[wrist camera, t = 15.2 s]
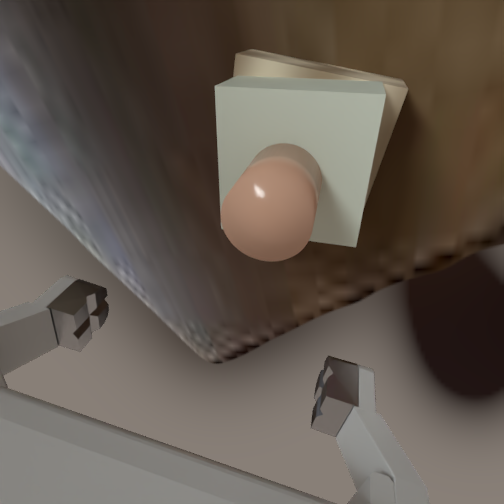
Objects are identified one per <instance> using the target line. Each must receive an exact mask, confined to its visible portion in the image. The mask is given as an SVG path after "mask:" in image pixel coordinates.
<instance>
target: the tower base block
mask: <svg viewBox="0 0 504 504" xmlns="http://www.w3.org/2000/svg"><path fill="white" fill-rule="evenodd" d="M236 76H262V77H285V78H309V79H332V80H356V81H379V82H382V83H383V86H384V89H385V93H386V98H385V103H384V108H383V113H382V118H381V123H380V128H379V133H378V138H377V143H376V148H375V154H374V159H373V164H372V169H371V174H370V179H369V184H368V189H367V194H366V199H365V204H366V201H367V199H368V196H369V193H370V191H371V188H372V185H373V183H374V180H375V177H376V175H377V172H378V169H379V167H380V164H381V161H382V159H383V156H384V153H385V150H386V148H387V145H388V142H389V140H390V137H391V134H392V132H393V129H394V126H395V124H396V121H397V118H398V116H399V113H400V110H401V108H402V105H403V102H404V100H405V97H406V94H407V91H408V87H407V86H406V84H405V83H404V81H403V80H402V79H398V78H394V77H389V76H384V75H379V74H374V73H369V72H364V71H359V70H354V69H349V68H344V67H339V66H334V65H329V64H324V63H319V62H314V61H309V60H304V59H299V58H294V57H289V56H284V55H279V54H274V53H269V52H264V51H259V50H254V49H250V50H247V51H243V52H240V53H236V56H235V65H234V75H233V77H236ZM365 204H364V207H365Z"/></svg>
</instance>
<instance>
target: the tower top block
mask: <svg viewBox="0 0 504 504" xmlns="http://www.w3.org/2000/svg"><path fill="white" fill-rule="evenodd" d="M385 98H386V93H385V89H384V86H383V83H382V82H379V81H356V80H332V79H309V78H285V77H262V76H236V77H233V78H231V79H229V80H227V81H225V82H222V83H220V84H218V85H216V86H215V104H216V125H217V147H218V168H219V190H220V211H221V207H222V204H223V201H224V199H225V197H226V195H227V194H228V193H229V191H230V190H231V188H232V187H233V186H234V184H235V183H236V182H237V180H238V179H239V178H240V176H241V175H242V174H243V172H244V171H245V170H246V168H247V167H248V166H249V164H250V163H251V161H252V160H253V159H254V157H255V156H256V155H257V154H258V153H259V152H260V151H261V150H263V149H264V148H266V147H268V146H271V145H274V144H279V143H288V144H293V145H297V146H299V147H301V148H303V149H305V150H306V151H307V152H309V153H310V154H311V155H312V156H313V157H314V159H315V160H316V161H317V163H318V165H319V167H320V170H321V174H322V187H321V192H320V196H319V201H318V206H317V211H316V215H315V220H314V225H313V230H312V234H311V237H310V239H309V241H313V242H321V243H328V244H335V245H343V246H350V247H356V245H357V240H358V235H359V230H360V225H361V219H362V214H363V209H364V204H365V199H366V194H367V189H368V184H369V179H370V174H371V169H372V164H373V159H374V154H375V148H376V143H377V138H378V133H379V128H380V123H381V118H382V113H383V108H384V103H385ZM221 229H223V227H222V223H221Z"/></svg>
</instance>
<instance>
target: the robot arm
mask: <svg viewBox="0 0 504 504" xmlns="http://www.w3.org/2000/svg"><path fill="white" fill-rule="evenodd" d="M106 297H107V289H106V288H104V287H101V286H98V285H96V284H93V283H90V282H87V281H84V280H80V279H77V278H74V277H71V276H68V275H67V276H63V277H61V278H60V279H59V280H58V281H57V282H56V283H55V284H53V285H52V286H51V287H50V288H49V289H48V290H46V291H45V292H44V293H43V294H42V295H41V296H40V297H38V298H37V299H36V300H35V301H34V302H33V303H30V302H27V303H24V304H21V305H18V306H15V307H11V308H9V309H5V310H2V311H0V504H336V503H333V502H330V501H327V500H325V499H322V498H319V497H316V496H313V495H311V494H308V493H305V492H302V491H299V490H296V489H293V488H291V487H288V486H285V485H282V484H279V483H276V482H273V481H271V480H268V479H265V478H262V477H259V476H256V475H254V474H251V473H248V472H245V471H242V470H239V469H237V468H234V467H231V466H228V465H225V464H222V463H220V462H216V461H214V460H211V459H208V458H205V457H202V456H200V455H197V454H194V453H191V452H188V451H185V450H182V449H180V448H177V447H174V446H171V445H168V444H165V443H163V442H160V441H157V440H154V439H151V438H148V437H146V436H143V435H140V434H137V433H134V432H131V431H128V430H126V429H123V428H120V427H117V426H114V425H111V424H108V423H106V422H103V421H100V420H97V419H94V418H91V417H89V416H86V415H83V414H80V413H77V412H74V411H71V410H68V409H66V408H63V407H60V406H57V405H54V404H51V403H49V402H46V401H43V400H40V399H37V398H34V397H32V396H29V395H26V394H23V393H20V392H17V391H14V390H11V389H9V388H8V386H7V384H6V381H5V379H4V376H3V375H5V374H7V373H9V372H11V371H13V370H15V369H17V368H18V367H20V366H22V365H24V364H26V363H28V362H30V361H32V360H34V359H36V358H38V357H39V356H41V355H43V354H45V353H47V352H49V351H51V350H52V349H54V348H56V347H58V345H59V346H63V347H66V348H69V349H72V350H76V351H79V352H81V351H82V349H83V348H84V347H85V346H86V345H87V343H88V342H89V341H90V340H91V339H92V332H93V331H96V330H98V329H100V328H101V327H102V325H103V324H104V322H105V320H106V318H107V316H108V311H109V305H108V303H107V302H106V301H105V298H106ZM314 399H315V400H316V404H315V406H314V408H313V411H312V422H311V428H312V429H315V430H317V431H320V432H323V433H326V434H328V435H331V436H334V437H336V441H337V443H338V446H339V448H340V450H341V453H342V455H343V458H344V460H345V463H346V465H347V468H348V470H349V473H350V475H351V477H352V480H353V482H354V485H355V487H356V489H357V492H356V493H355V494H354V496H353V497H352V498H351V499H350V501H349V502H348V503H347V504H429V497H428V490H427V487H426V486H425V484H424V482H423V481H422V479H421V478H420V476H419V475H418V473H417V471H416V470H415V468H414V467H413V465H412V463H411V462H410V460H409V459H408V457H407V455H406V454H405V452H404V451H403V449H402V448H401V446H400V444H399V443H398V441H397V440H396V438H395V437H394V435H393V433H392V432H391V430H390V428H389V427H388V425H387V424H386V422H385V421H384V419H383V418H382V416H381V415H380V414H377V413H376V398H375V377H374V370H373V369H371V368H368V367H365V366H361V365H357V364H355V363H351V362H348V361H345V360H341V359H338V358H334V357H331V356H328V357H327V358H326V360H325V364H324V370H321V372H320V374H319V377H318V380H317V383H316V388H315V395H314Z"/></svg>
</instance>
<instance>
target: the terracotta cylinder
mask: <svg viewBox="0 0 504 504" xmlns="http://www.w3.org/2000/svg"><path fill="white" fill-rule="evenodd" d="M321 187H322V174H321V170H320V167H319V165H318V163H317V161H316V160H315V159H314V157H313V156H312V155H311V154H310V153H309V152H307V151H306V150H305V149H303V148H301V147H299V146H297V145H293V144H288V143H279V144H274V145H271V146H268V147H266V148H264V149H263V150H261V151H260V152H259V153H258V154H257V155H256V156H255V157H254V159H253V160H252V161H251V163H250V164H249V166H248V167H247V168H246V170H245V171H244V172H243V174H242V175H241V176H240V178H239V179H238V180H237V182H236V183H235V184H234V186H233V187H232V188H231V190H230V191H229V193H228V194H227V195H226V197H225V199H224V201H223V204H222V207H221V223H222V227H223V230H224V232H225V234H226V236H227V238H228V239H229V240H230V242H231V243H232V244H233V245H234V246H235V247H236V248H237V249H238V250H239V251H241V252H242V253H244V254H246V255H247V256H249V257H252V258H254V259H257V260H262V261H281V260H285V259H288V258H291V257H293V256H294V255H296V254H298V253H299V252H300V251H301V250H302V249H303V248H304V247H305V246H306V244H307V243H308V241H309V239H310V237H311V234H312V230H313V225H314V220H315V215H316V211H317V206H318V201H319V196H320V192H321Z"/></svg>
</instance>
